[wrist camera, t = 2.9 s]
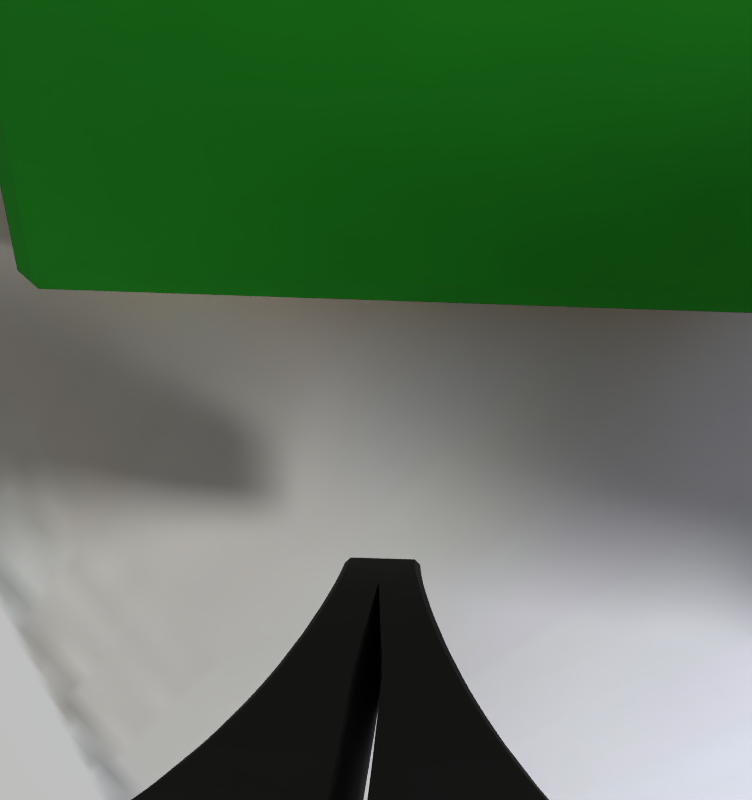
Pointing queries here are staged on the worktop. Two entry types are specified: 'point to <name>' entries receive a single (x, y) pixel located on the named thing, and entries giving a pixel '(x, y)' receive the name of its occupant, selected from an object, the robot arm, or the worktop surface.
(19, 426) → the worktop surface
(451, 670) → the robot arm
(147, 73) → the dish sponge
